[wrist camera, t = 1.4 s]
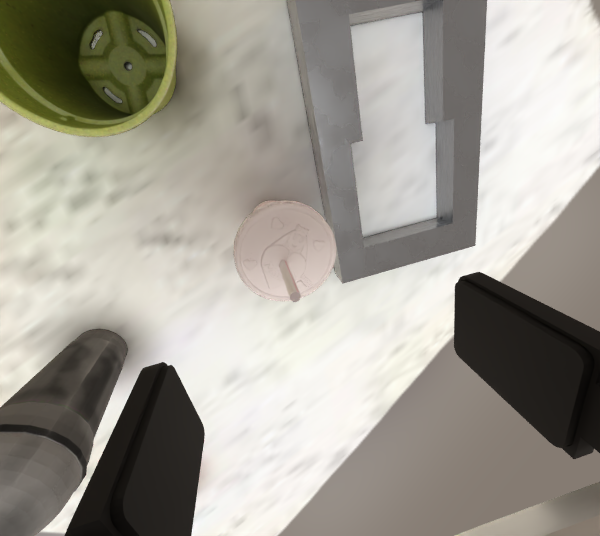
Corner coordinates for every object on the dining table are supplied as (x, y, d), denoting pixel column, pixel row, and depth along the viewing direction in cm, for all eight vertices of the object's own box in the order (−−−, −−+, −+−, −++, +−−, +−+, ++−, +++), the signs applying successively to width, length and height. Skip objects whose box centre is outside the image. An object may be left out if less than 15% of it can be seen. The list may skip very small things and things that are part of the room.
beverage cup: (41, 328, 26) (-434, 751, 8) (124, 307, 27) (-127, 647, 8) (80, 386, 29) (-194, 793, 11) (154, 367, 29) (17, 713, 11)
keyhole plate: (284, -15, 20) (289, -36, 18) (464, -48, 21) (490, -71, 19) (335, 273, 29) (342, 283, 27) (458, 238, 31) (475, 245, 29)
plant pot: (159, 167, 23) (117, 176, 15) (26, 78, 19) (-121, 27, 11) (224, 61, 21) (215, 8, 13) (91, -59, 18) (-30, -230, 10)
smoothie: (223, 236, 26) (207, 318, 13) (255, 170, 24) (271, 192, 12) (285, 264, 28) (323, 358, 15) (318, 205, 26) (390, 256, 14)
